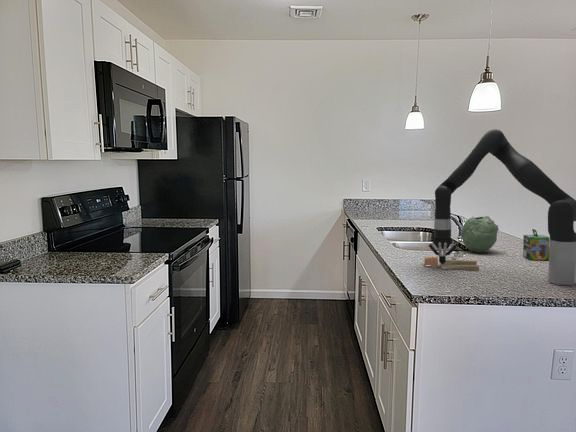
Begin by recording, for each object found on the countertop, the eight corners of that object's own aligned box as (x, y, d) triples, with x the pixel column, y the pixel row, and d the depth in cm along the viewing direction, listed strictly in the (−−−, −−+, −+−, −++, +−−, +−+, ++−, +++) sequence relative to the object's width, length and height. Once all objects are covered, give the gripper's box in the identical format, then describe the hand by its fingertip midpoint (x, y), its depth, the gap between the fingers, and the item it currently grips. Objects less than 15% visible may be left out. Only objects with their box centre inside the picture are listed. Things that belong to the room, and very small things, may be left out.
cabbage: (463, 248, 237) (463, 213, 235) (499, 251, 227) (500, 214, 224) (457, 253, 224) (457, 217, 222) (495, 256, 214) (496, 218, 211)
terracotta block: (437, 267, 196) (437, 259, 196) (424, 267, 198) (424, 259, 198) (437, 264, 202) (437, 256, 202) (424, 264, 204) (424, 256, 204)
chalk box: (549, 260, 201) (550, 230, 200) (528, 260, 203) (529, 230, 202) (542, 256, 210) (543, 228, 209) (522, 256, 212) (523, 228, 211)
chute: (478, 270, 187) (479, 266, 187) (441, 269, 192) (441, 264, 192) (476, 264, 198) (476, 260, 198) (440, 263, 204) (440, 259, 204)
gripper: (427, 229, 195) (427, 264, 197) (458, 229, 190) (457, 266, 192) (427, 226, 202) (427, 261, 204) (457, 226, 197) (456, 262, 199)
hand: (442, 263), depth 198 cm, fingers closed
